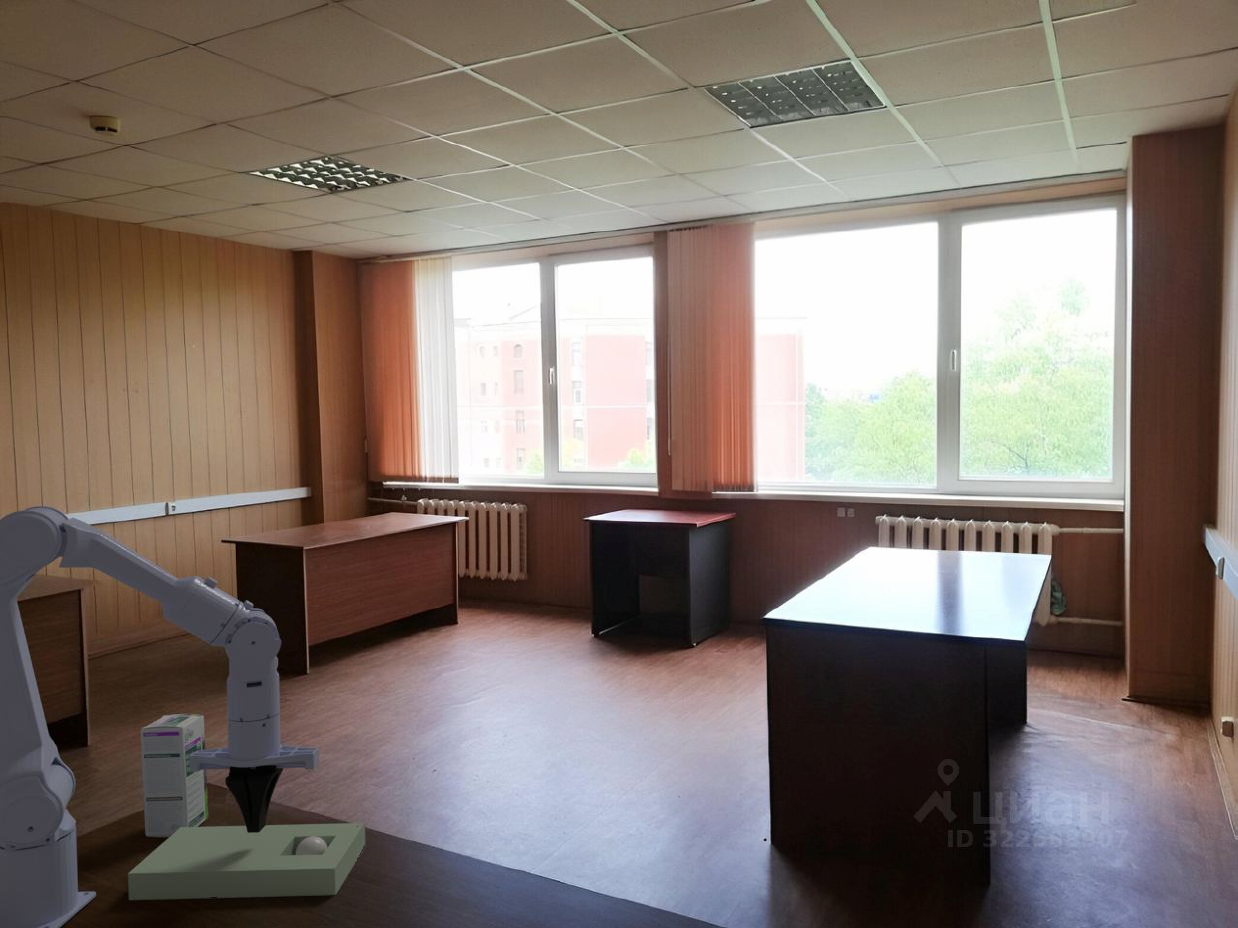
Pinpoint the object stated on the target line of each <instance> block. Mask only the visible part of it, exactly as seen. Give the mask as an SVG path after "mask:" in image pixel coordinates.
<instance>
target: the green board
mask: <svg viewBox="0 0 1238 928" xmlns="http://www.w3.org/2000/svg"><path fill="white" fill-rule="evenodd" d="M357 826H358V827H357ZM312 836H316V837H319V838H321V839H323V840H324V841H325V843H326V845H327V849H326V851H325V852H324V853H323V855H296V850H297V847H298V845H299V844H300V843H301V842H302V841H303V840H304V839H306V838H308V837H312ZM364 845H365V846H366V823H365V822H351V823H349V822H348V823H347V822H346V823H345V822H344V823H308V824H307V823H306V824H271V825H269V824H268V825H267V824H265V827H264V828H263V829H262V830H261V831H260V832H258V833H248V832H247V828H246V825H230V826H229V825H222V826H198V827H180V828H179V829H178V830H177V831H176V832H175V833H174V834H173V835H171V836H170V837H167V839H165V841H164V842H162V843H161V844H160V845H159V846H157V848H155V849H154V850H153V851H152V852H151V853H149V854H148V855H147V856H146V857H145V858H143V860H142V861H140V863H138V864H137V865H136V866H135V867H134V868H132V870H130V871H129V872H128V874H127V878H128V879H127V881H128V882H127V884H128V900H129V901H143V900H144V901H145V900H146V901H147V900H148V901H149V900H153V901H154V900H181V899H182V900H187V899H212V898H211V897H217V898H216V899H227V898H228V899H230V898H234V899H235V898H268V897H269V898H270V897H275V898H276V897H305V896H307V897H308V896H309V897H310V896H314V897H315V896H336V895H337V893H338V891H339V890H340V889H341V887H342V885H343V884H344V883H345V881H346V879H347V877H348V875H350V872H351V871H352V869H353V868H354V866H355V864H356V863H357V861H358V860H357V858H358V857H359V858H360V856H361V855H360V853H361V851H362V849H363V847H364ZM362 852H363V851H362ZM361 854H362V853H361ZM359 855H360V856H359ZM359 858H358V859H359ZM355 862H356V863H355ZM202 897H203V898H202ZM209 897H210V898H209Z"/></svg>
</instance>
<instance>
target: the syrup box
mask: <svg viewBox="0 0 1238 928" xmlns="http://www.w3.org/2000/svg"><path fill="white" fill-rule="evenodd" d="M139 731H140V749H141V750H140V751H141V768H142V769H141V770H142V771H141V772H142V773H141V775H142V790H143V791H142V794H143V813H144V815H143V816H144V833H145V834H144V835H145V837H148V838H149V837H150V838H151V837H152V838H169V837H170V836H171V835H173V834H174V833H175V832H176V831H177V830H178V829H179V828H180V827H200V826H201V824H202V823H204V822H205V821H207V819H208V818H209V803H208V802H209V799H208V780H207V777H208V776H207V770H200V771H198V772H190V755H192V754H193V753H194V752H196V751H197V750H206V740H205V739H206V738H205V717H204V714H199V713H179V714H178V713H177V714H176V713H175V714H168V715H167V714H165V715H163V716H161V717H160V718H159V719H156V720H155V721H153V722H152V723H149V724H148V725H147V726H144V727H142V728H140V730H139Z"/></svg>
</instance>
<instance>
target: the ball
mask: <svg viewBox="0 0 1238 928" xmlns="http://www.w3.org/2000/svg"><path fill="white" fill-rule="evenodd" d="M326 849H327V845H326V843H325V841H324V840H323V839H321V838H319V837H316V836H312V837H308V838H306V839H304V840H303V841H302V842H301V843H300V844H299V845H298V847H297V850H296V855H323V853H324V852H325V851H326Z"/></svg>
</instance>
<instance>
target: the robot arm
mask: <svg viewBox="0 0 1238 928" xmlns="http://www.w3.org/2000/svg"><path fill="white" fill-rule="evenodd" d="M68 517H69V516H67V515H66V514H65V513H64V512H62V511H60V510H59V509H57V508H54V507H53V506H52V507H51V506H46V505H36V506H31V507H28V508H26V509H23V510H17V511H13V512H11V513H8V514H6V515H5V516H3V517H2V518H1V519H0V928H61V927H62V926H63V925H64V924H66V923H67V922H68V921H69V920H70V919H71V918H73V917H74V916H75V915H76V914H78V912H80V910H82V909H83V908H84V907H86V905H88V904H89V903H90V902H91V901H93V899H94V898H95V897H96V896H97V892H96V891H79V884H78V883H79V882H78V854H77V853H78V851H77V849H78V848H77V846H78V845H77V820H76V819H75V818H74V817H73V816H72V815H71V814H70V812H69V810H68V809H67V806H68V803H69V802H70V801H71V800H72V798H73V796H74V794H75V793H74V792H75V790H76V777H75V774H74V772H73V771H72V769H71V768H70V767H69V766H67V765H66V764H65V763H64V762H63V760H62V759H61V756H60V753H59V751H58V746H57V744H55V741H54V740H53V739H52V738H51V736H50V733H49V729H48V725H47V720H46V717H45V713H44V712H45V711H44V708H43V706H42V700H41V696H40V692H39V687H38V684H37V679H36V675H35V671H34V666H33V662H32V659H31V654H30V650H29V645H28V642H27V638H26V637H27V636H26V634H25V633H26V632H25V630H24V629H25V628H24V626H23V621H22V616H21V613H20V609H19V605H18V597H19V596H20V595H21V593H22V592H23V591H24V590H25V589H26V587H27V586H28V585H29V584H30V583H31V581H33V579H34V578H35V577H36V574H37V573H39V572H40V571H41V570H42V569H43V568H45V567H46V566H48V565H50V564H51V563H53V562H55V560H57V559H58V558H61V560H60V563H59V566H58V568H62V569H63V568H64V569H67V568H68V569H71V568H74V569H75V568H78V569H79V568H90V569H91V568H93V569H96V570H97V571H99V572H101V573H103V574H105V575H107V576H108V577H110V578H113V579H114V580H116V581H119V582H120V583H123V584H124V585H126V586H128V587H130V588H131V589H134V590H136V591H138V592H140V593H141V594H143V595H146V596H147V597H150V598H151V599H153V600H155V601H157V602H159V603H160V605H161V608H162V615H163V618H164V619H165V620H167V621H168V622H170V623H171V624H174V625H175V626H177V627H179V628H181V629H183V630H184V631H186V632H187V633H189V634H191V635H193V636H195V637H196V638H198V639H200V640H202V641H204V642H206V643H207V644H209V645H211V646H214V647H223V648H224V650H225V653H226V656H227V658H228V663H229V665H228V667H229V668H228V669H229V671H228V672H229V674H228V677H227V679H226V699H227V700H226V701H227V702H226V703H227V746H228V747H220V748H214V749H213V748H212V749H205V750H197V751H196V752H194V753H193V754H192V755H190V772H198V771H200V770H206V771H207V770H229V772H228V776H226V778H225V780H224V782H225V786H226V787H227V788H228V790H229V791H230V792H231V794H232V795H233V798H234V799H235V800H236V802H237V804H238V807H239V809H240V811H241V814H242V817H243V820H244V825H245V826H246V828H247V832H248V833H258V832H260V831H261V830H262V829H263V828H264V827H265V825H267V824H266V823H267V817H268V811H269V807H270V803H271V800H272V797H273V794H274V791H275V788H276V786H277V784H278V781H279V779H280V777H281V775H282V773H283V771H284V769H305V770H308V771H309V770H311V771H312V770H315V769H316V768H317V767H318V765H320V748H319V747H304V746H303V747H301V746H297V745H296V746H294V745H286V744H281V710H280V709H281V708H280V707H281V705H280V704H281V702H280V701H281V700H280V695H281V694H280V674H279V672H278V670H277V669H278V667H279V658H278V657H277V655H278V653H279V652H280V649H281V646H282V640H281V638H280V634H279V631H278V628H277V625H276V623H275V621H274V620H273V619H272V617H271V616H269V615H268V614H266V612H265V611H264V610H263V609H261V608H257V607H256V608H254V604H253V603H252V602H250V601H249V600H247V599H246V600H245V601H244V602H242V601H240V600H239V599H237V598H236V597H234V596H233V595H230V594H229V593H227V592H225V591H223V590H222V589H220V588H218V587H217V586H218V580H216V579H214V578H212V576H207V577H206V578H205V579H203V578H202V577H200V576H198V575H191V576H186V577H181V578H180V577H179V578H178V577H176V576H175V575H173V574H171V573H170V572H168V571H167V570H165V569H164V568H162V567H160V566H159V565H157V564H156V563H154V562H153V561H151V560H149V559H147V557H144V556H143V555H141V554H140V553H138V552H137V551H135V550H133V549H132V548H130V547H128V546H127V545H125V544H124V543H122V542H120V541H119V540H117V538H114V537H113V536H111V535H109V534H108V533H106V532H104V531H103V530H102V529H98V528H97V527H95V526H93V525H91V524H89V523H86V522H85V521H82V520H80V519H78V518H75V517H71V518H68Z"/></svg>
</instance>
